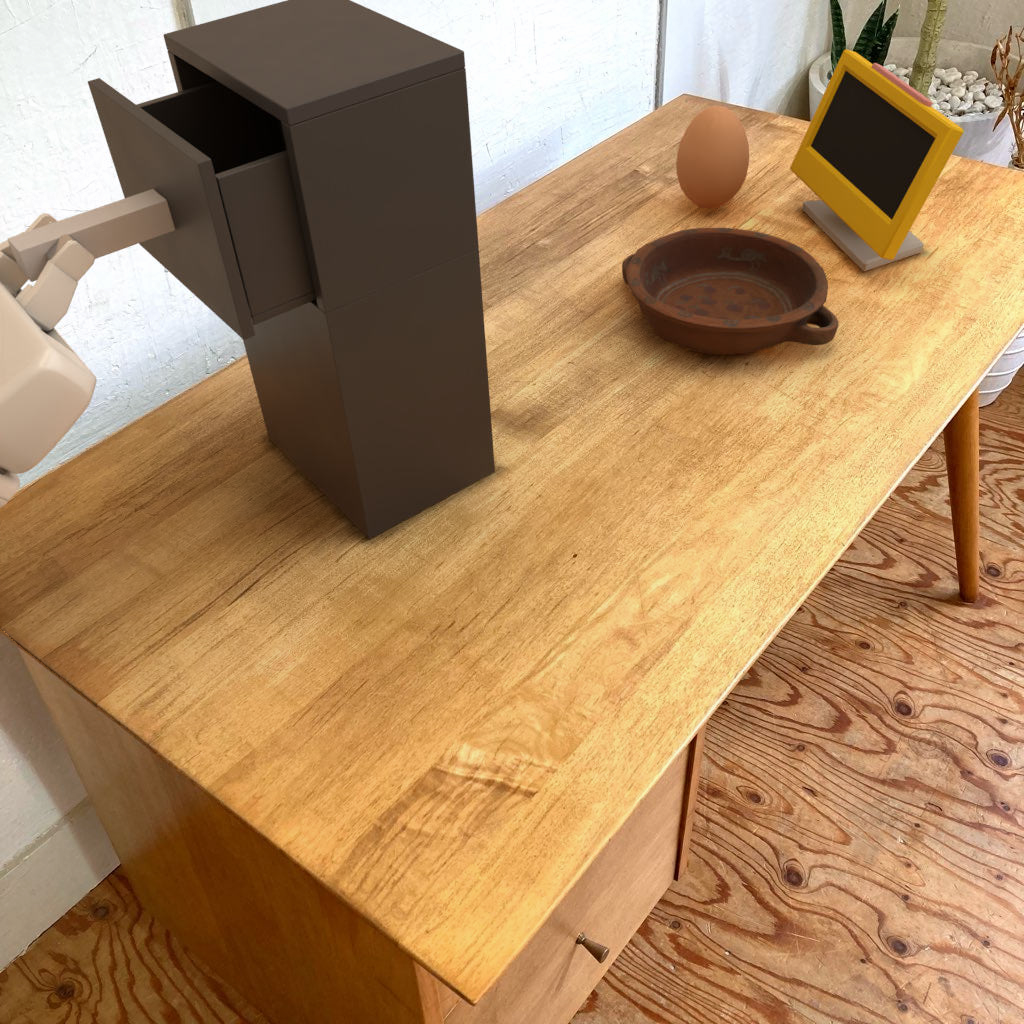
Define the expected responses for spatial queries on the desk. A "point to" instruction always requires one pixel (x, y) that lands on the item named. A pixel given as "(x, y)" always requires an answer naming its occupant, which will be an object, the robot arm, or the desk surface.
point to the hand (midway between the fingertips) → (71, 234)
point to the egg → (713, 158)
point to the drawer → (196, 202)
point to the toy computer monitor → (872, 161)
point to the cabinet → (366, 252)
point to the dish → (730, 291)
